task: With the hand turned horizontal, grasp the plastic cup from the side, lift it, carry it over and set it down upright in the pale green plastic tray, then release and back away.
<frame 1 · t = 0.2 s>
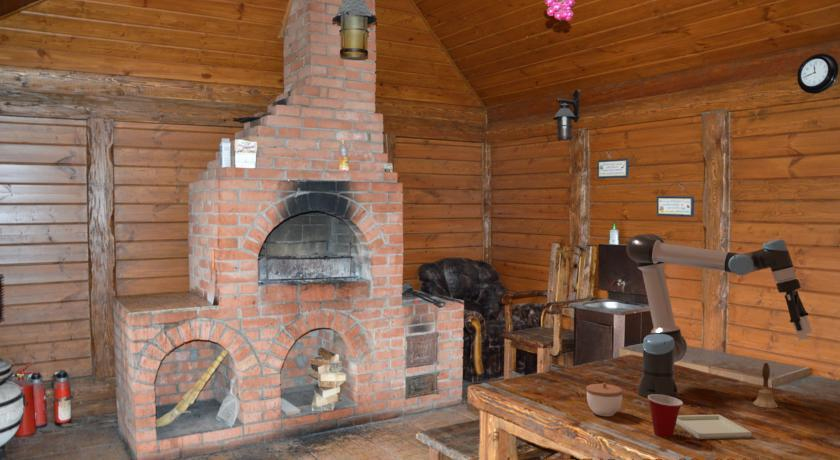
hand: (805, 336, 233), 28 cm above the table, tool tilted 20°, fingers open, 13 cm apart
plastic cup: (664, 435, 207), on the table
hand bell: (765, 405, 241), on the table
tray: (709, 428, 213), on the table
lidded bowl: (603, 413, 229), on the table
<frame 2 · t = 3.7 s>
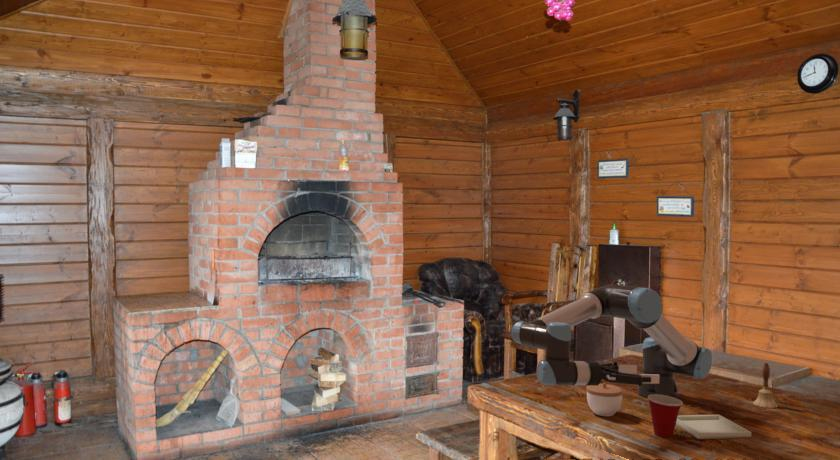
hand: (647, 373, 205), 20 cm above the table, tool horizontal, fingers open, 13 cm apart
nothing on the table moved.
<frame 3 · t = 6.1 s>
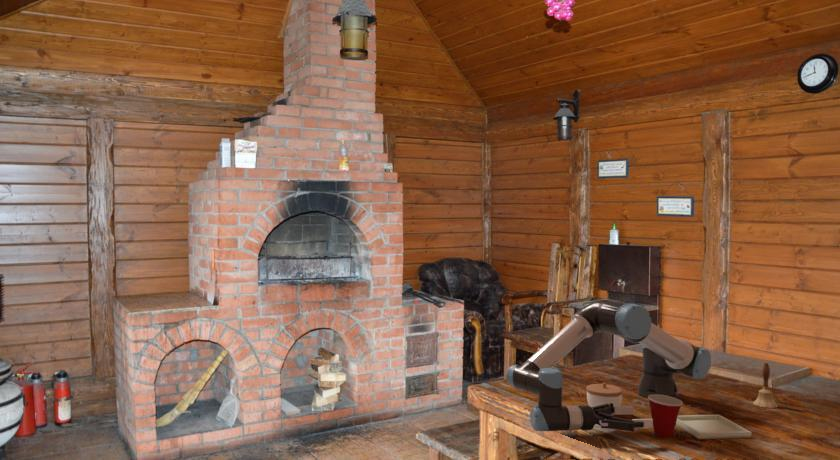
hand: (642, 416, 206), 6 cm above the table, tool horizontal, fingers open, 13 cm apart
nothing on the table moved.
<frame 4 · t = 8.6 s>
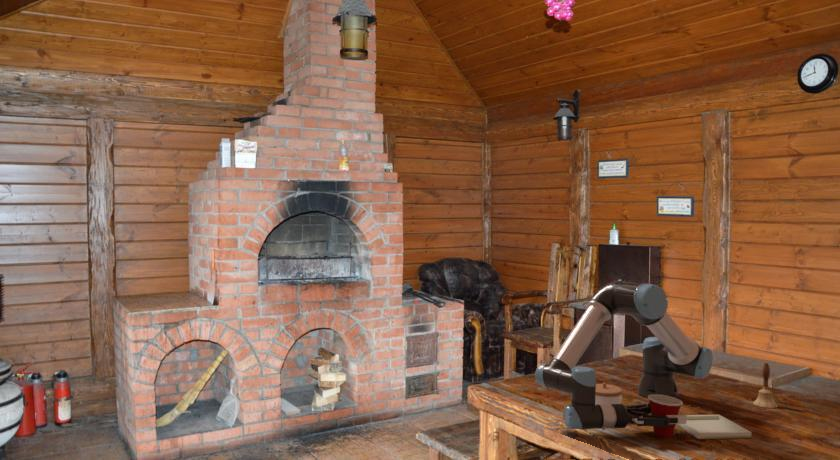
hand: (678, 414, 208), 7 cm above the table, tool horizontal, fingers closed on plastic cup, 9 cm apart
plastic cup: (664, 435, 207), on the table, touching gripper
everything else where it was.
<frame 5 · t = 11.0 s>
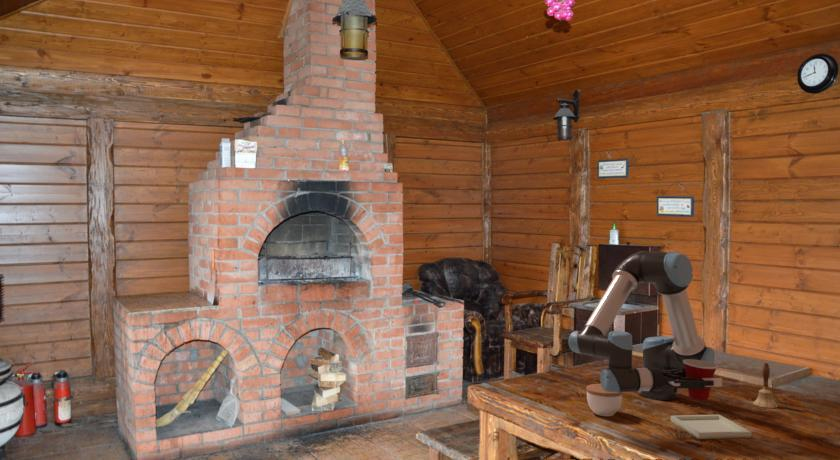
hand: (713, 378, 211), 18 cm above the table, tool horizontal, fingers closed on plastic cup, 9 cm apart
plastic cup: (699, 398, 211), point 11 cm above the table, touching gripper
everything else where it was.
when the fingers open (8 cm above the table, at t = 13.6 s): plastic cup drops 1 cm, resting on tray.
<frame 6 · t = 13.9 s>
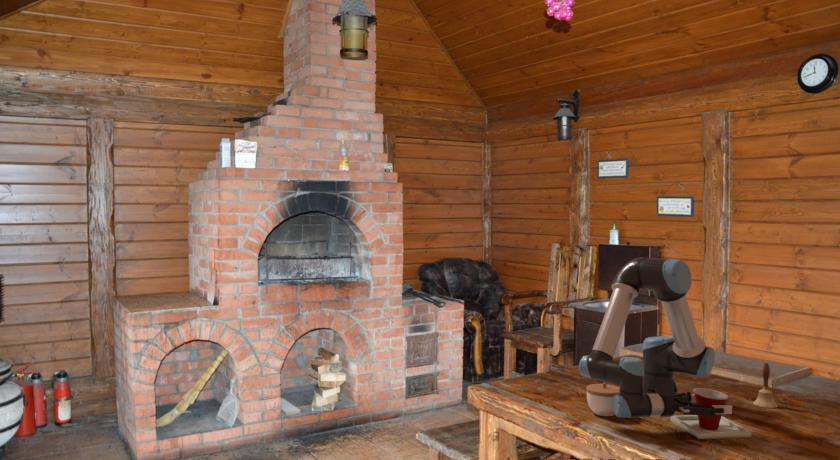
hand: (720, 403, 213), 8 cm above the table, tool horizontal, fingers open, 12 cm apart
plastic cup: (709, 427, 213), resting on tray
everything else where it was.
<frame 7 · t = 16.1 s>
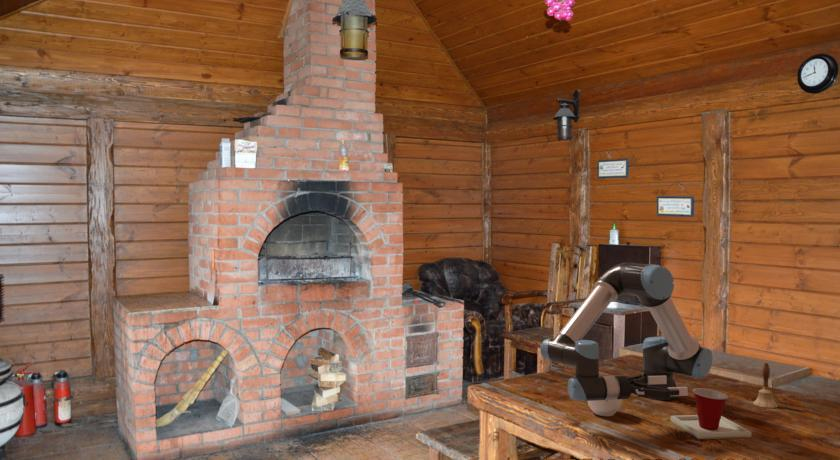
hand: (676, 385, 212), 15 cm above the table, tool horizontal, fingers open, 13 cm apart
nothing on the table moved.
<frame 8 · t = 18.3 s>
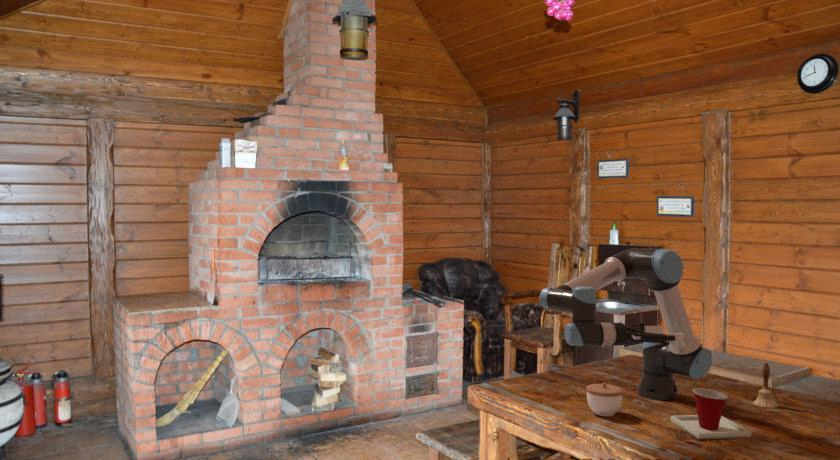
hand: (672, 333, 213), 32 cm above the table, tool horizontal, fingers open, 13 cm apart
nothing on the table moved.
at the end: plastic cup inside the target area on the tray (0.2 cm from its centre), point 0.4 cm above the tray's base; plastic cup tilted 0°; the gripper is holding nothing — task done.
